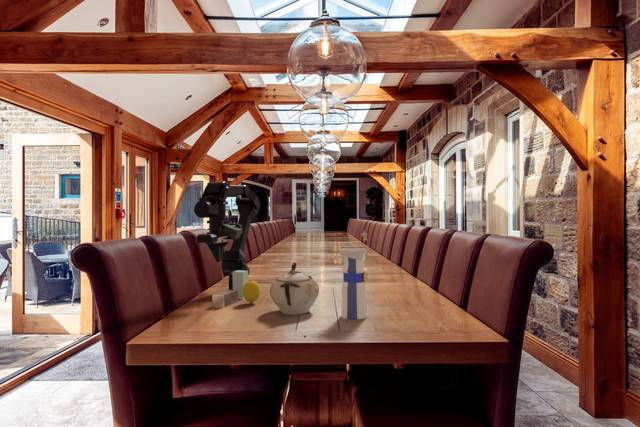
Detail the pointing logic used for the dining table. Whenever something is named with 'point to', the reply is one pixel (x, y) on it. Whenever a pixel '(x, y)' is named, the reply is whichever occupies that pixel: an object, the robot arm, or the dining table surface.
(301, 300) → the sugar bowl
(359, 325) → the dining table surface
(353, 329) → the dining table surface
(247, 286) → the lemon
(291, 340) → the dining table surface
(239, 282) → the sage block
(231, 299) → the beige rectangular block
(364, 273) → the white blue cross vase
